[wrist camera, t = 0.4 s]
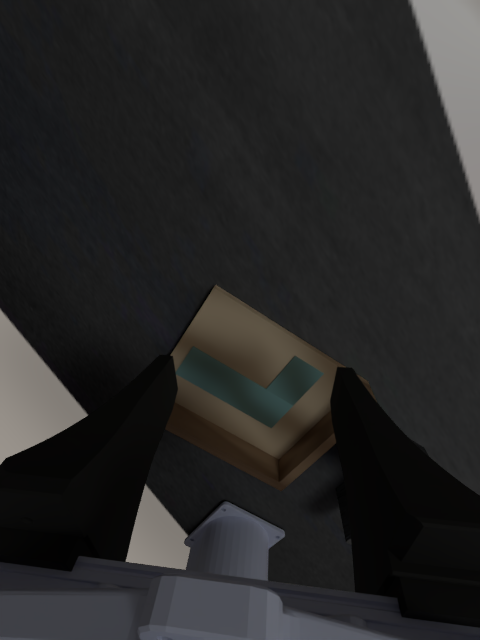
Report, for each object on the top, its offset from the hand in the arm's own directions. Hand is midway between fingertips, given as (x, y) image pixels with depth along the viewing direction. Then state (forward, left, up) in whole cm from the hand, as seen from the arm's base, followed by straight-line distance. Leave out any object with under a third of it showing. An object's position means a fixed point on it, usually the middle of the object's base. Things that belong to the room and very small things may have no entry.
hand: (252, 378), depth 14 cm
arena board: (-7, -4, -10) cm, 13 cm away
